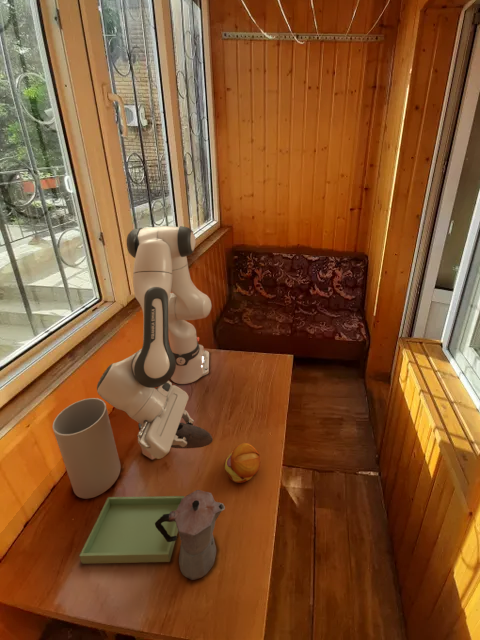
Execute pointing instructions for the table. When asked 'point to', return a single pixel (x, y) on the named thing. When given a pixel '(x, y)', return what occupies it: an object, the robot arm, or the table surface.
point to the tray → (131, 531)
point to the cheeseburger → (242, 463)
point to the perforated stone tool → (193, 436)
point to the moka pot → (194, 532)
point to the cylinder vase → (87, 447)
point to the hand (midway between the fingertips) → (189, 433)
